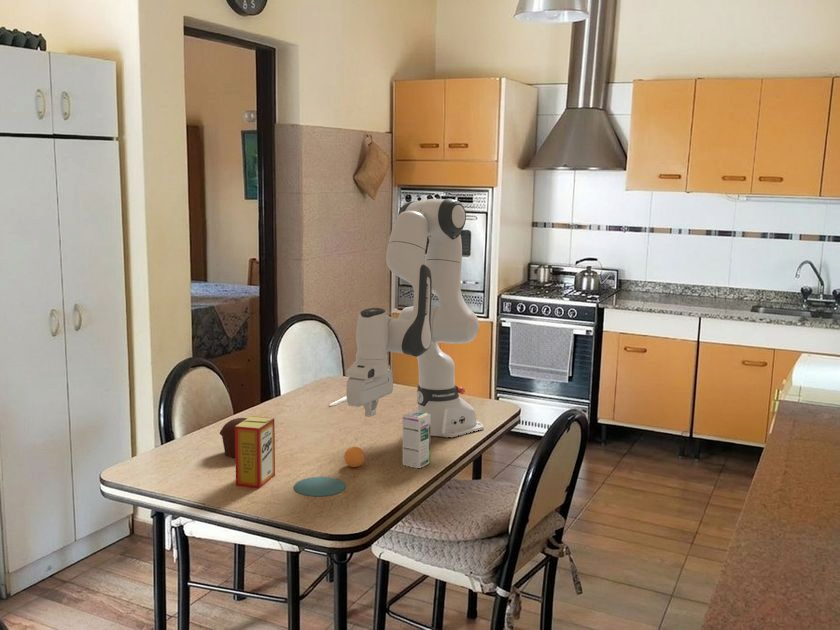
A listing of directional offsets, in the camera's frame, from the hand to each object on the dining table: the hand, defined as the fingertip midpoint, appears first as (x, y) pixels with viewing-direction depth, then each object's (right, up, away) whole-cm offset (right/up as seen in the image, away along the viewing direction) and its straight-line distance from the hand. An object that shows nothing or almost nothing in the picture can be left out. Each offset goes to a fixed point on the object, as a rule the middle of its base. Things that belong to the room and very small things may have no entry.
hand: (370, 415), depth 230 cm
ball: (-4, -10, -6) cm, 13 cm away
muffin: (-37, -11, +3) cm, 39 cm away
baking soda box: (-29, -15, -17) cm, 37 cm away
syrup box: (+13, -13, -3) cm, 19 cm away
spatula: (-10, -2, +64) cm, 65 cm away
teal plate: (-12, -16, -21) cm, 28 cm away
